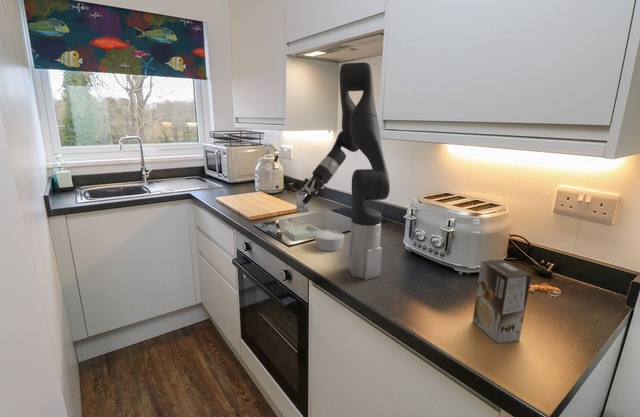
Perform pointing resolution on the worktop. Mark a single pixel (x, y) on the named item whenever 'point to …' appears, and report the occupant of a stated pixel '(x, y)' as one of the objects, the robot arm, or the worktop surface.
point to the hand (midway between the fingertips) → (300, 201)
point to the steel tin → (300, 205)
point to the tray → (301, 232)
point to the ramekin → (329, 240)
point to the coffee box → (501, 300)
